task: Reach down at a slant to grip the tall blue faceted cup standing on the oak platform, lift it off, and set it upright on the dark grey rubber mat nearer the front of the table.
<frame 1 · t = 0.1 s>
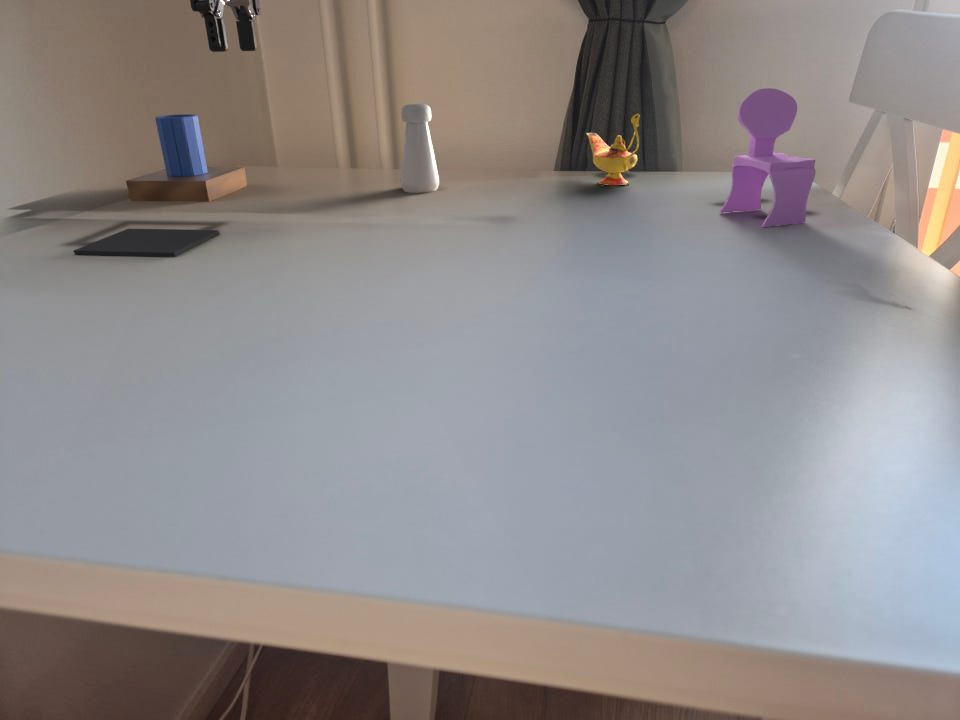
hand: (234, 51, 89), 20 cm above the table, tool pointing down, fingers open, 8 cm apart
blue faceted cup: (187, 173, 100), point 4 cm above the table, touching platform
mat: (150, 243, 79), on the table
platform: (193, 200, 101), on the table
salt shaker: (420, 198, 101), on the table
magic lamp: (608, 182, 109), on the table
toy chair: (761, 220, 85), on the table
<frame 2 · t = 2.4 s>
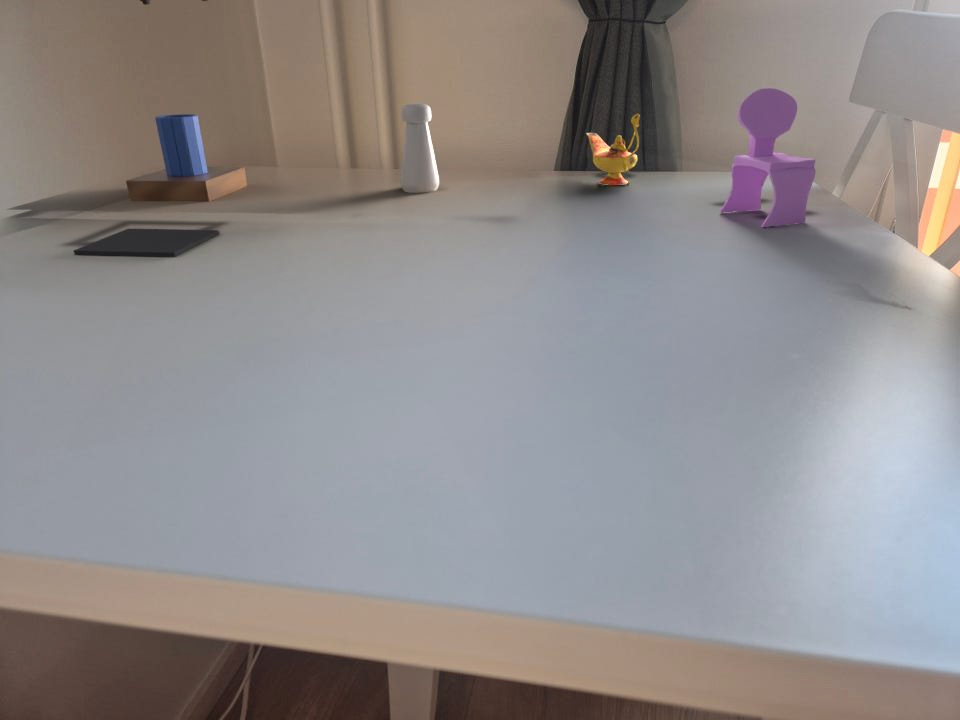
nothing on the table moved.
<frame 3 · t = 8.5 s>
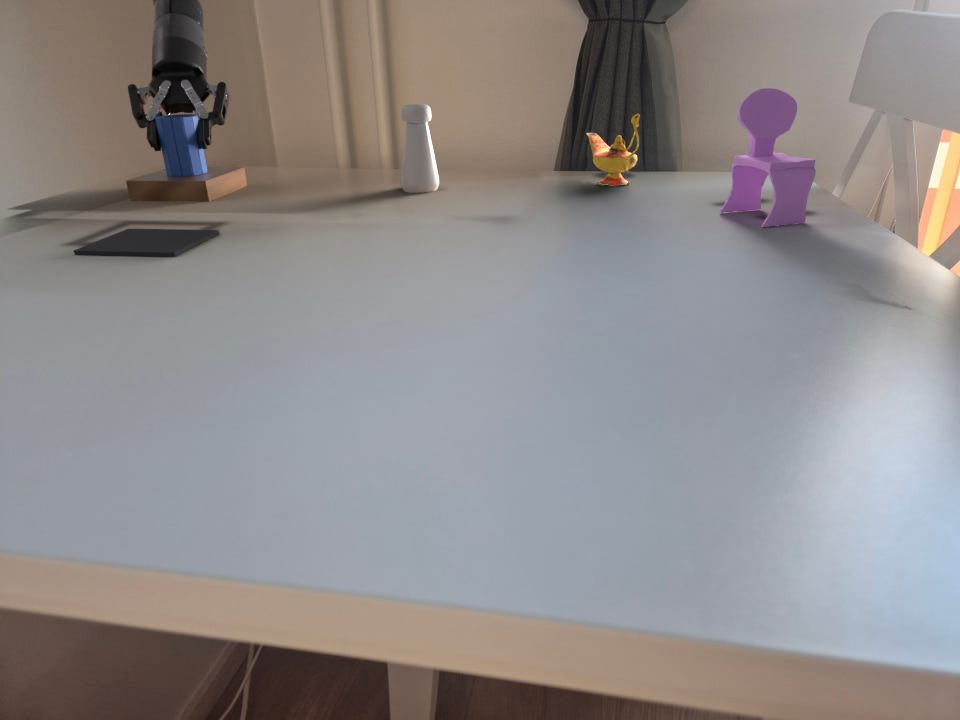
hand: (179, 146, 96), 8 cm above the table, tool tilted 45°, fingers closed on blue faceted cup, 5 cm apart
blue faceted cup: (187, 173, 100), point 4 cm above the table, touching gripper, platform
everything else where it was.
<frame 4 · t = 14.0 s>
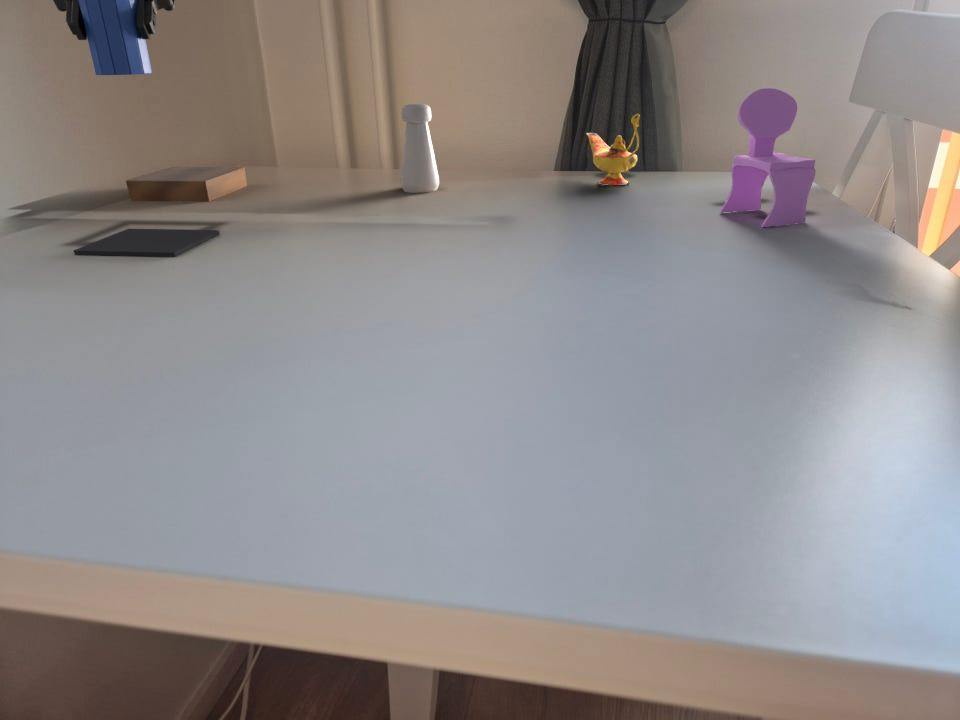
hand: (111, 33, 72), 22 cm above the table, tool tilted 45°, fingers closed on blue faceted cup, 5 cm apart
blue faceted cup: (124, 74, 75), point 18 cm above the table, touching gripper
everything else where it was.
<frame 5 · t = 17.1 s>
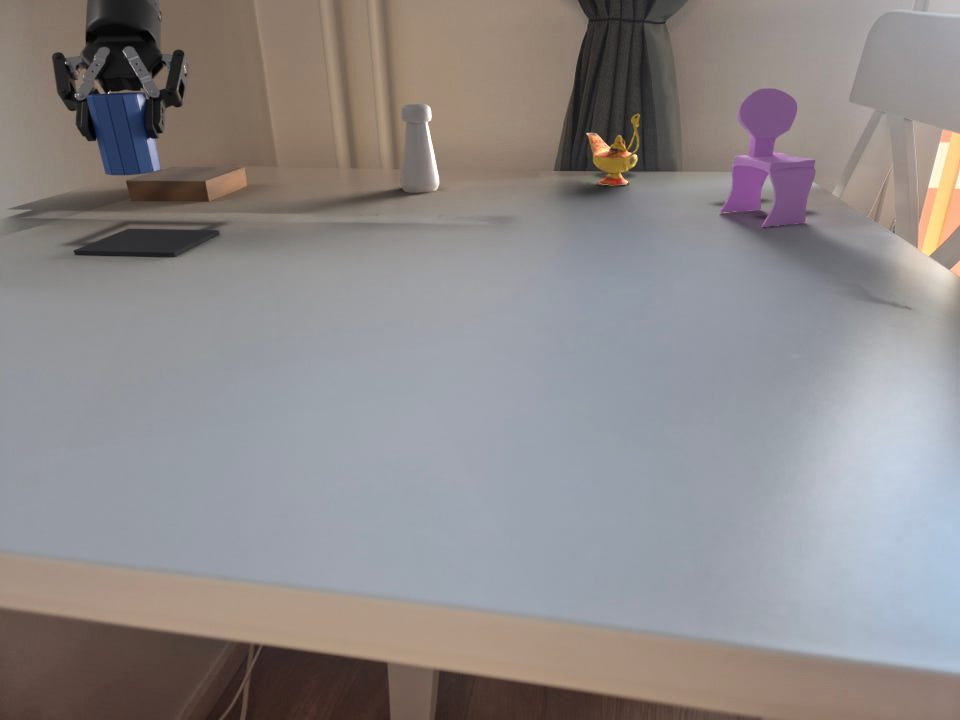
hand: (120, 134, 72), 12 cm above the table, tool tilted 45°, fingers closed on blue faceted cup, 5 cm apart
blue faceted cup: (134, 171, 75), point 8 cm above the table, touching gripper
everything else where it was.
when the fingers open (5 cm above the table, at t = 19.8 s): blue faceted cup stays where it is, resting on mat.
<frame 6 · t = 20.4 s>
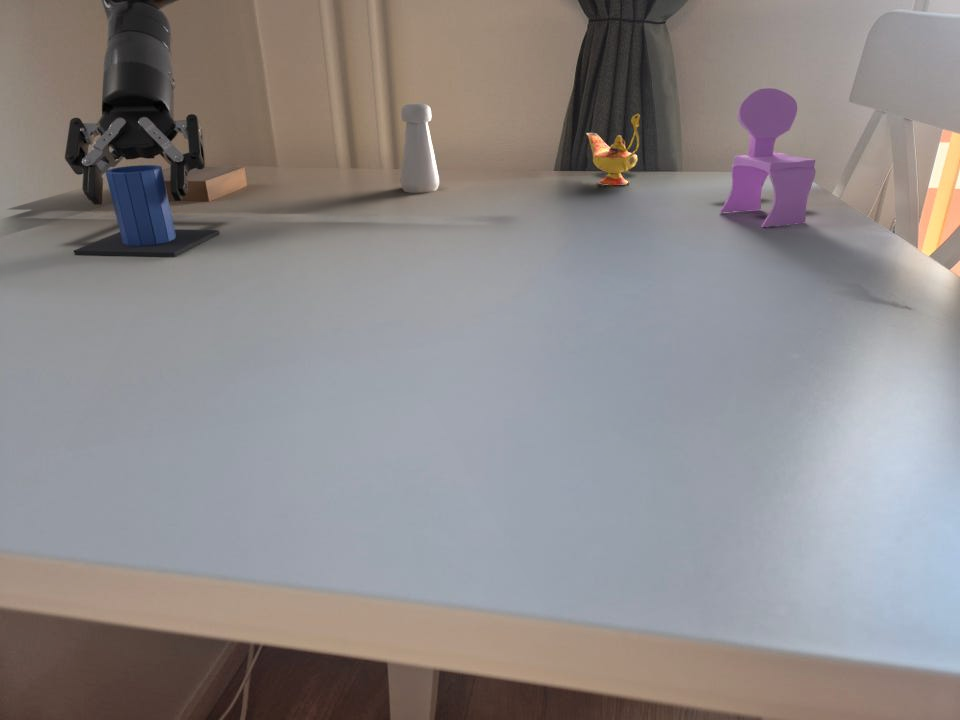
hand: (136, 198, 75), 5 cm above the table, tool tilted 45°, fingers open, 8 cm apart
blue faceted cup: (149, 239, 79), resting on mat
everything else where it was.
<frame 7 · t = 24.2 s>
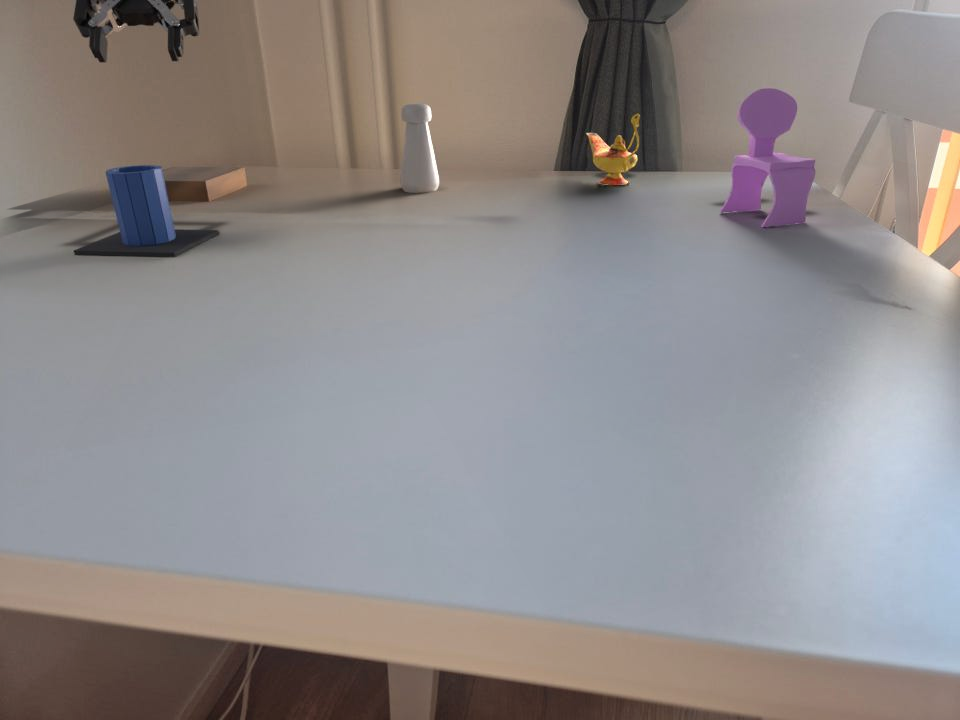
hand: (137, 56, 84), 20 cm above the table, tool tilted 45°, fingers open, 8 cm apart
nothing on the table moved.
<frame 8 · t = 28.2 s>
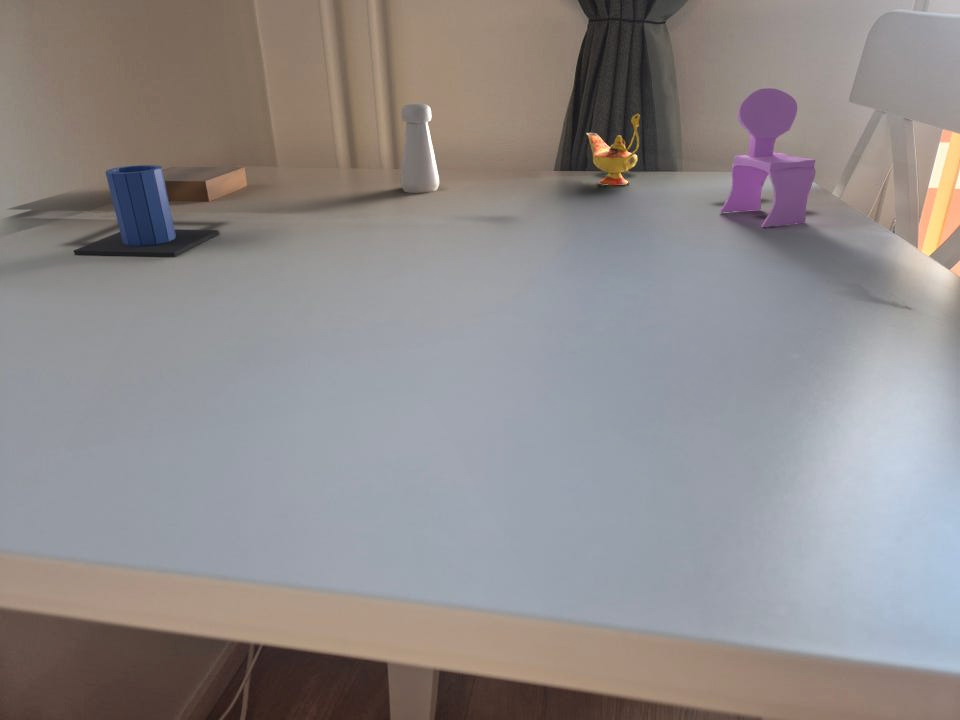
nothing on the table moved.
at the end: blue faceted cup inside the target area on the mat (0.1 cm from its centre), point 0.5 cm above the mat's base; blue faceted cup touching mat; blue faceted cup tilted 0° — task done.
